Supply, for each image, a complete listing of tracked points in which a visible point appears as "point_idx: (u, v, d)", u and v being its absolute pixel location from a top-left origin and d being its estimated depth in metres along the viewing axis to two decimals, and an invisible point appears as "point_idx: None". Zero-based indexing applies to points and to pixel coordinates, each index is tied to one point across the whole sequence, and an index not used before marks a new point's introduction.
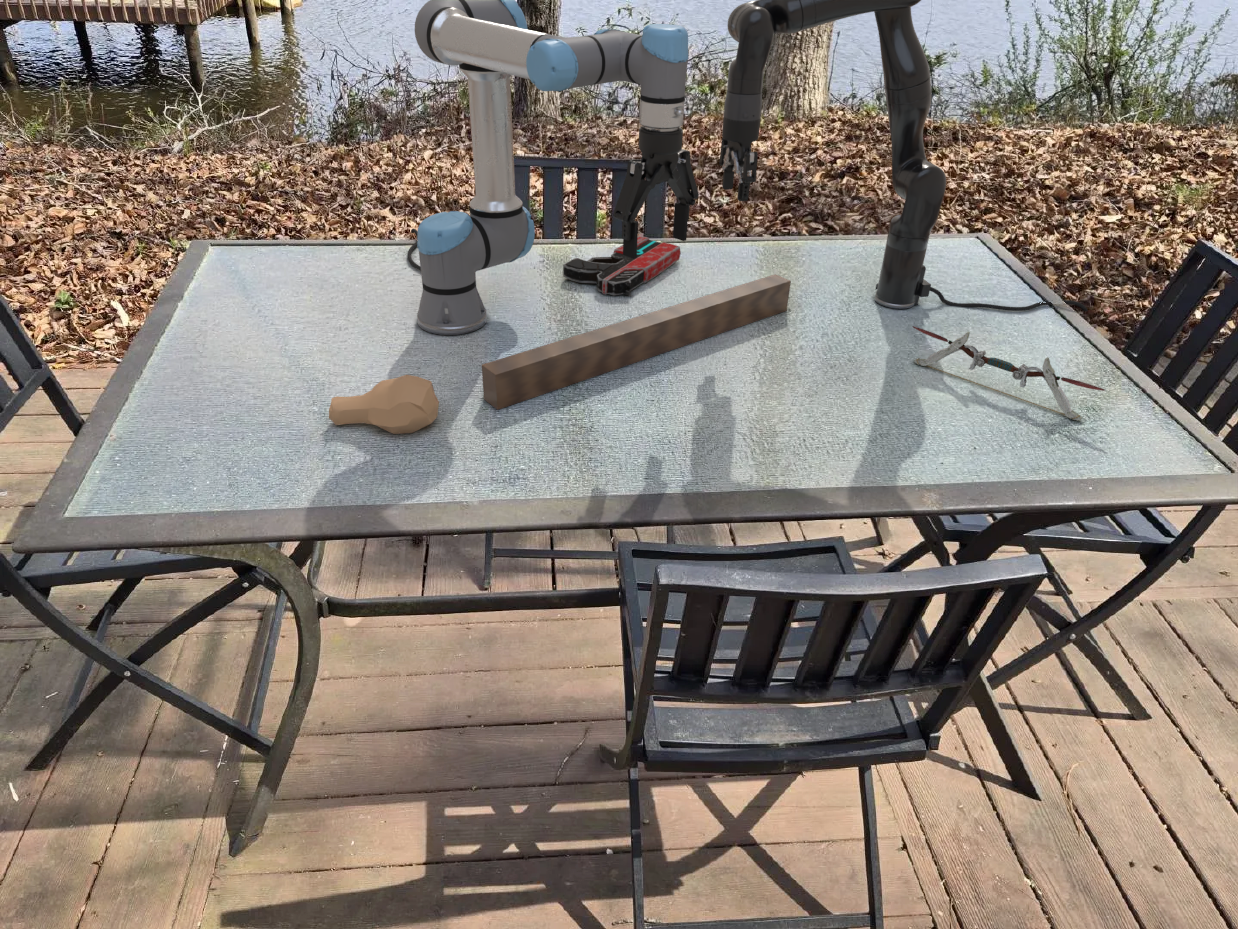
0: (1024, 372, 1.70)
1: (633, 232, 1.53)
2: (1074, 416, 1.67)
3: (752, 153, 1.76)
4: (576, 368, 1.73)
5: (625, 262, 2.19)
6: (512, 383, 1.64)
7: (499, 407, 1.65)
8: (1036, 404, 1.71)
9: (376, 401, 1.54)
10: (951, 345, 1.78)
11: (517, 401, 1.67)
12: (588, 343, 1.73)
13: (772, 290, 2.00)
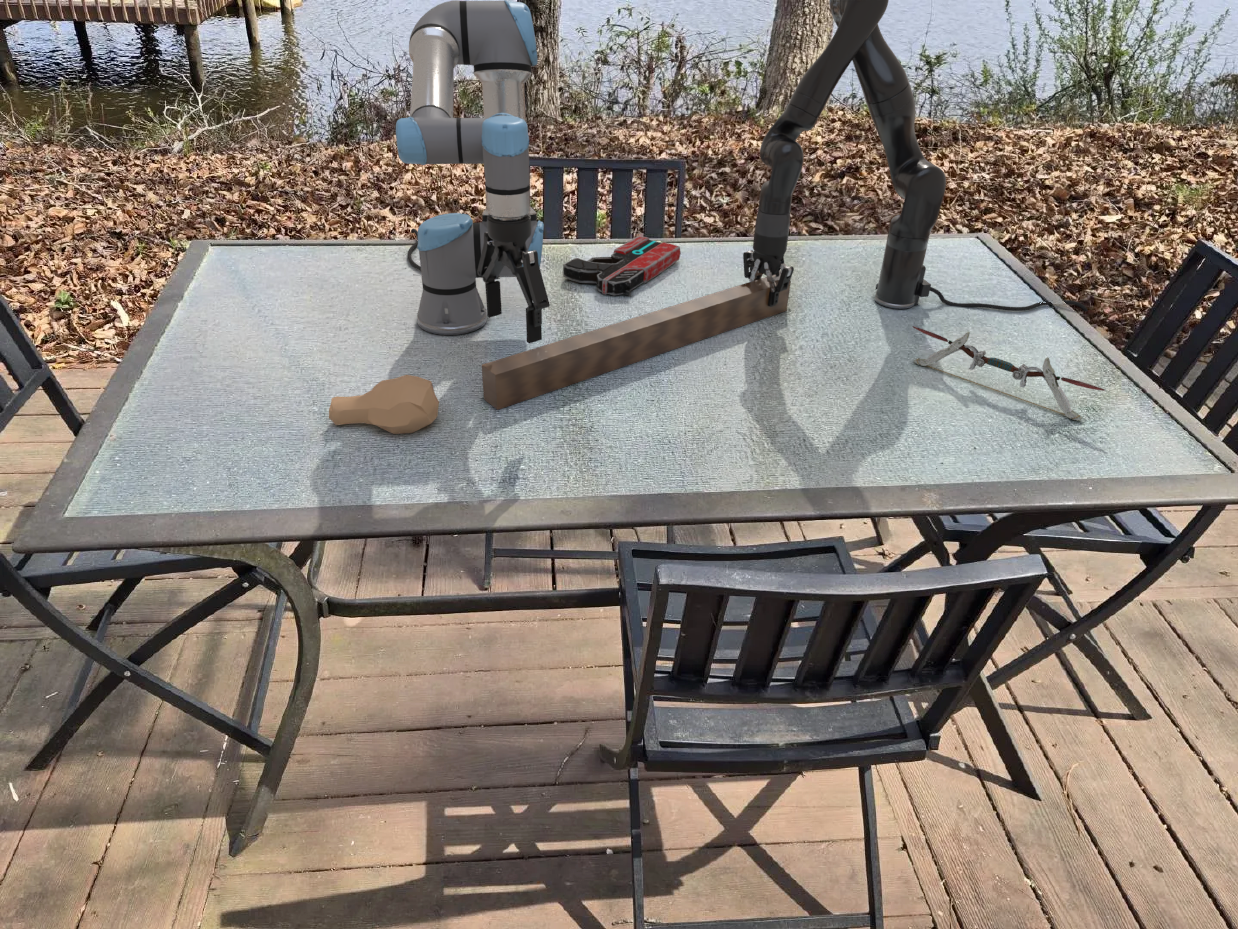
0: (1024, 372, 1.70)
1: None
2: (1074, 416, 1.67)
3: (790, 269, 1.94)
4: (576, 368, 1.73)
5: (625, 262, 2.19)
6: (512, 383, 1.64)
7: (499, 407, 1.65)
8: (1036, 404, 1.71)
9: (376, 401, 1.54)
10: (951, 345, 1.78)
11: (517, 401, 1.67)
12: (588, 343, 1.73)
13: None
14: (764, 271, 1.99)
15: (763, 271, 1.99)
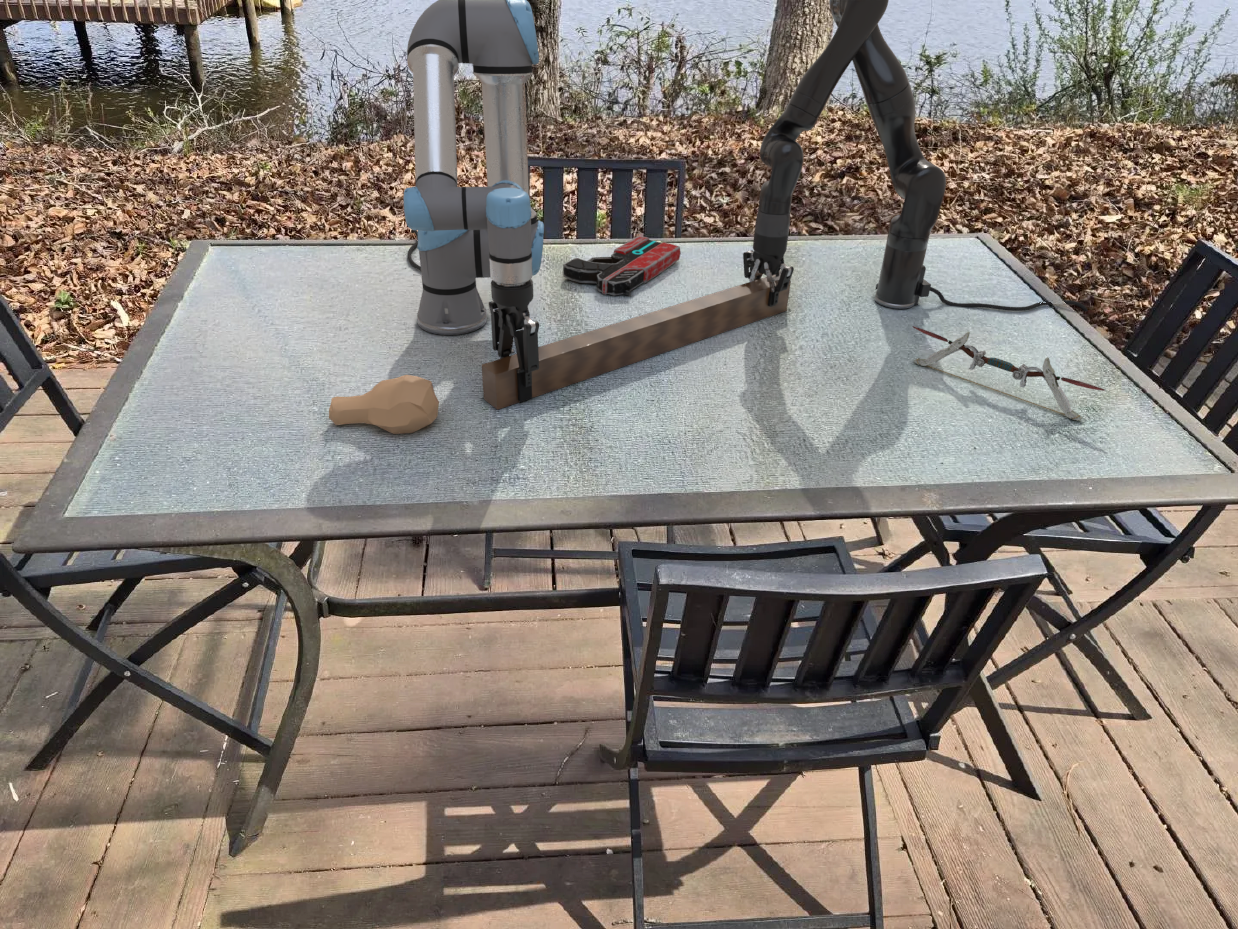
0: (1024, 372, 1.70)
1: None
2: (1074, 416, 1.67)
3: (790, 269, 1.94)
4: (576, 368, 1.73)
5: (625, 262, 2.19)
6: (512, 383, 1.64)
7: (499, 407, 1.65)
8: (1036, 404, 1.71)
9: (376, 401, 1.54)
10: (951, 345, 1.78)
11: (517, 401, 1.67)
12: (588, 342, 1.73)
13: None
14: (764, 271, 1.99)
15: (763, 271, 1.99)
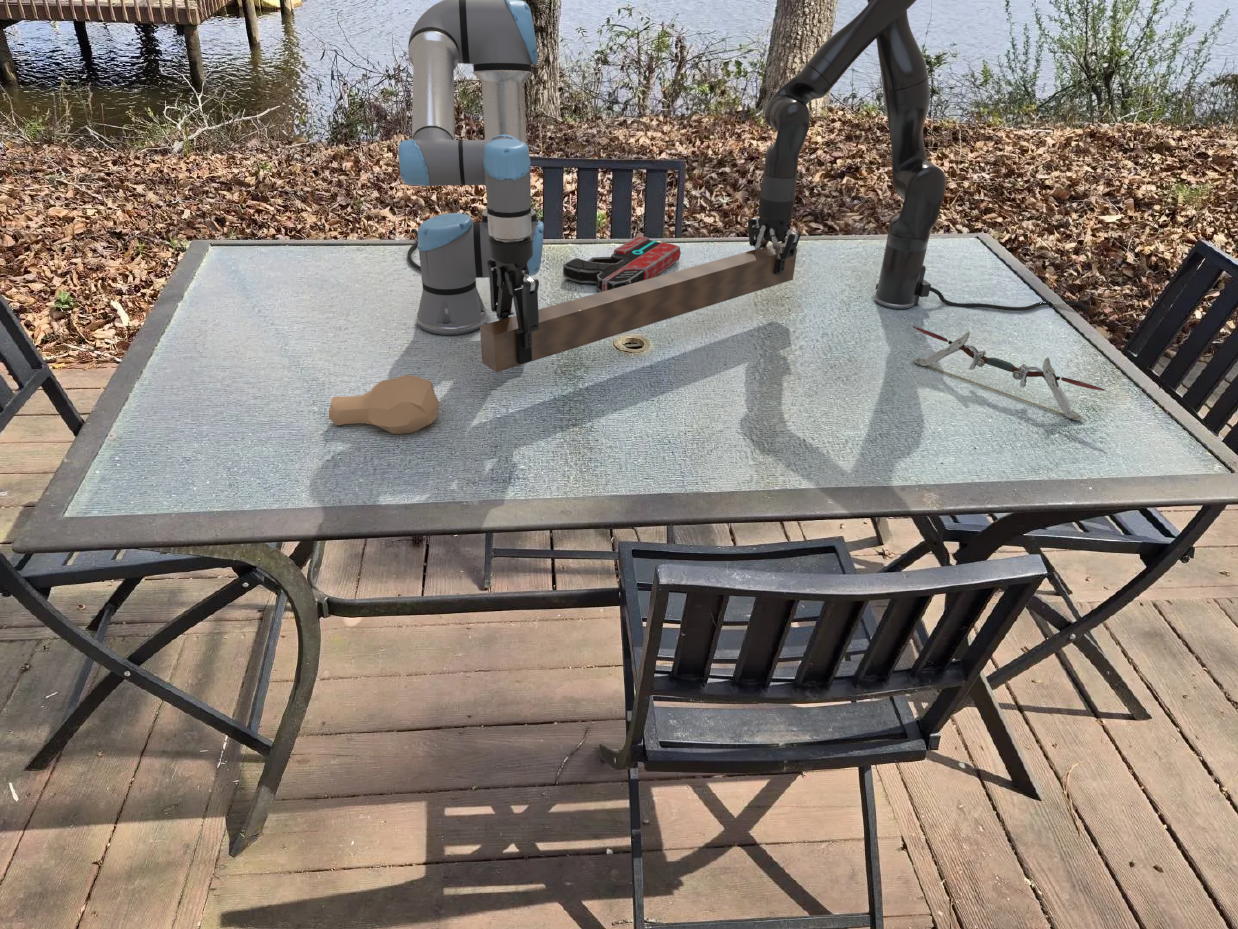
0: (1024, 372, 1.70)
1: None
2: (1074, 416, 1.67)
3: (796, 235, 1.89)
4: (577, 331, 1.68)
5: (625, 262, 2.19)
6: (512, 345, 1.60)
7: (497, 369, 1.60)
8: (1036, 404, 1.71)
9: (376, 401, 1.54)
10: (951, 345, 1.78)
11: (516, 364, 1.62)
12: (590, 305, 1.68)
13: None
14: (770, 238, 1.94)
15: (769, 238, 1.94)
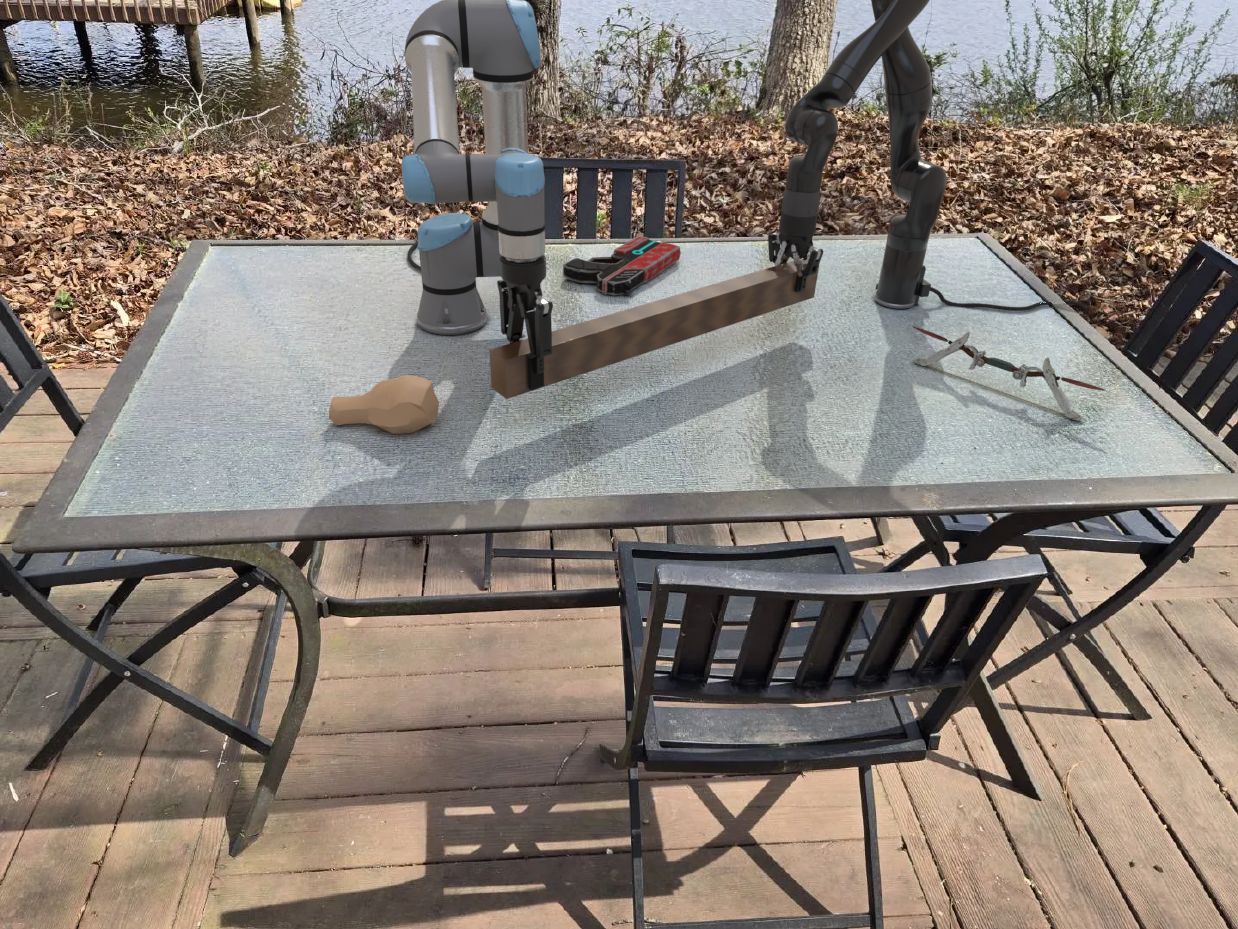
0: (1024, 372, 1.70)
1: None
2: (1074, 416, 1.67)
3: (819, 252, 1.80)
4: (592, 355, 1.59)
5: (625, 262, 2.19)
6: (523, 370, 1.51)
7: (508, 396, 1.51)
8: (1036, 404, 1.71)
9: (376, 401, 1.54)
10: (951, 345, 1.78)
11: (528, 390, 1.53)
12: (605, 327, 1.59)
13: None
14: (791, 254, 1.85)
15: (790, 254, 1.85)
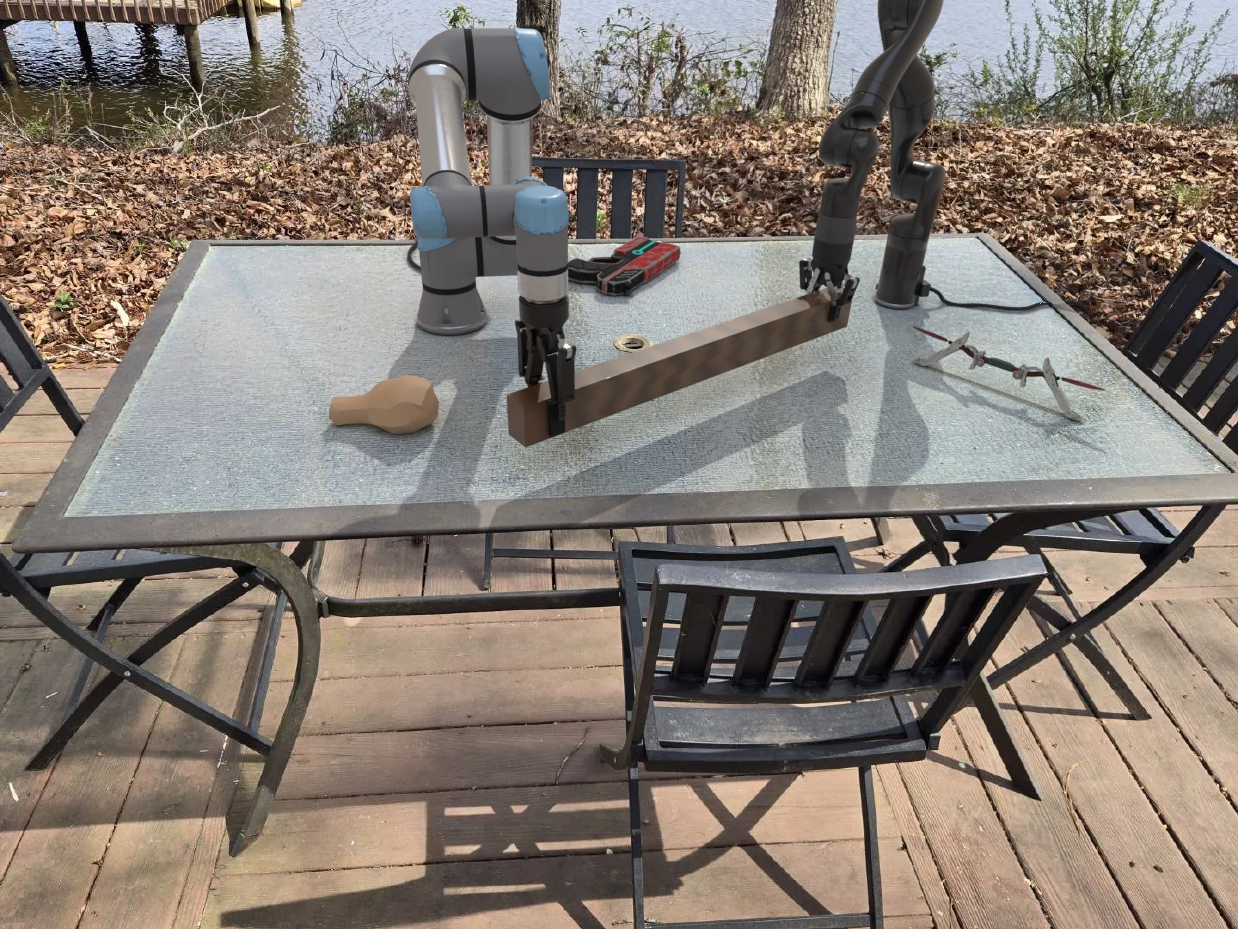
0: (1024, 372, 1.70)
1: None
2: (1074, 416, 1.67)
3: (855, 280, 1.69)
4: (616, 397, 1.48)
5: (625, 262, 2.19)
6: (543, 416, 1.39)
7: (527, 444, 1.40)
8: (1036, 404, 1.71)
9: (376, 401, 1.54)
10: (951, 345, 1.78)
11: (548, 437, 1.42)
12: (630, 367, 1.48)
13: None
14: (824, 282, 1.74)
15: (823, 282, 1.74)
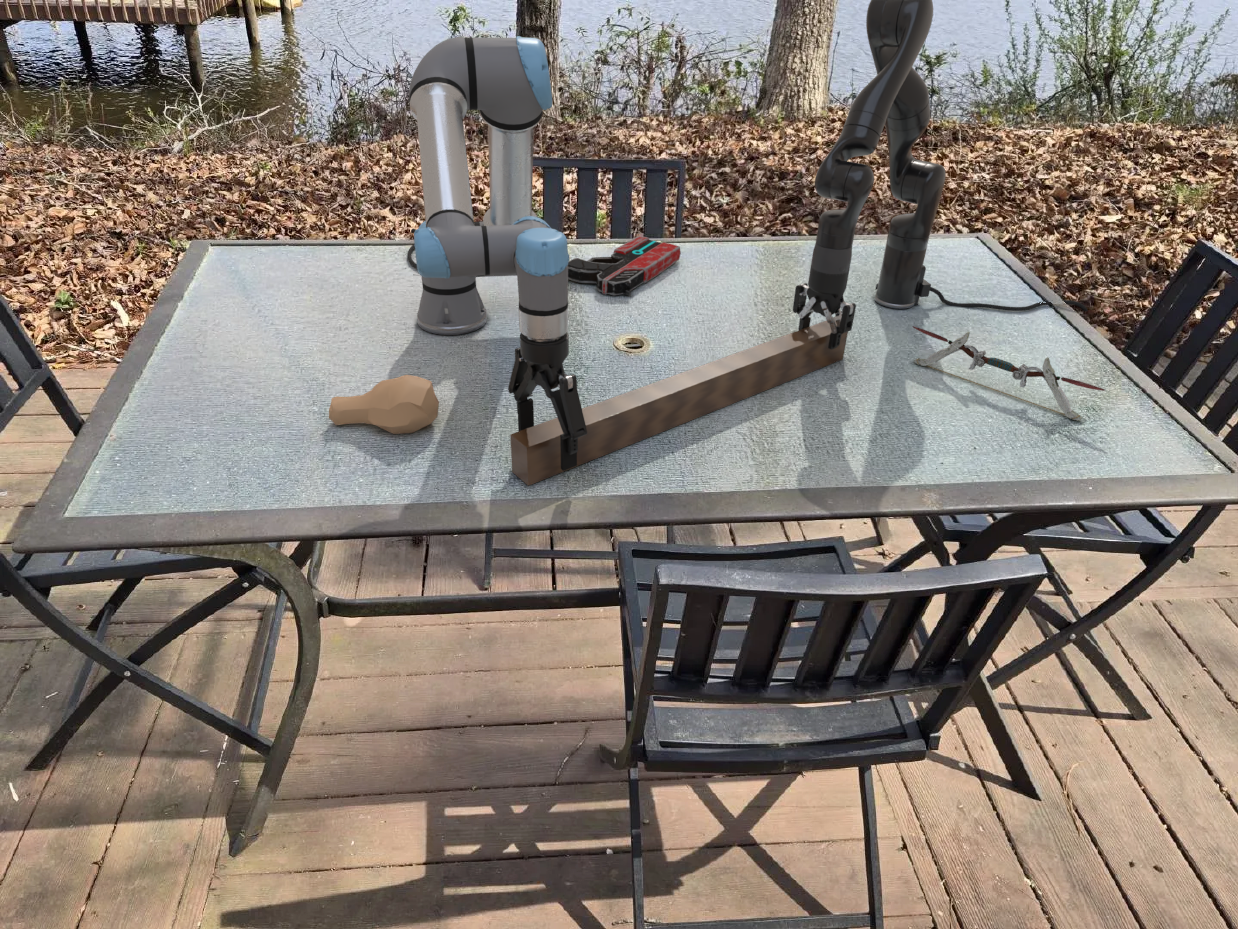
0: (1024, 372, 1.70)
1: None
2: (1074, 416, 1.67)
3: (851, 306, 1.72)
4: (616, 435, 1.52)
5: (625, 262, 2.19)
6: (545, 455, 1.44)
7: (530, 482, 1.44)
8: (1036, 404, 1.71)
9: (376, 401, 1.54)
10: (951, 345, 1.78)
11: (550, 475, 1.47)
12: (630, 406, 1.52)
13: (829, 338, 1.80)
14: (820, 310, 1.77)
15: (819, 310, 1.77)
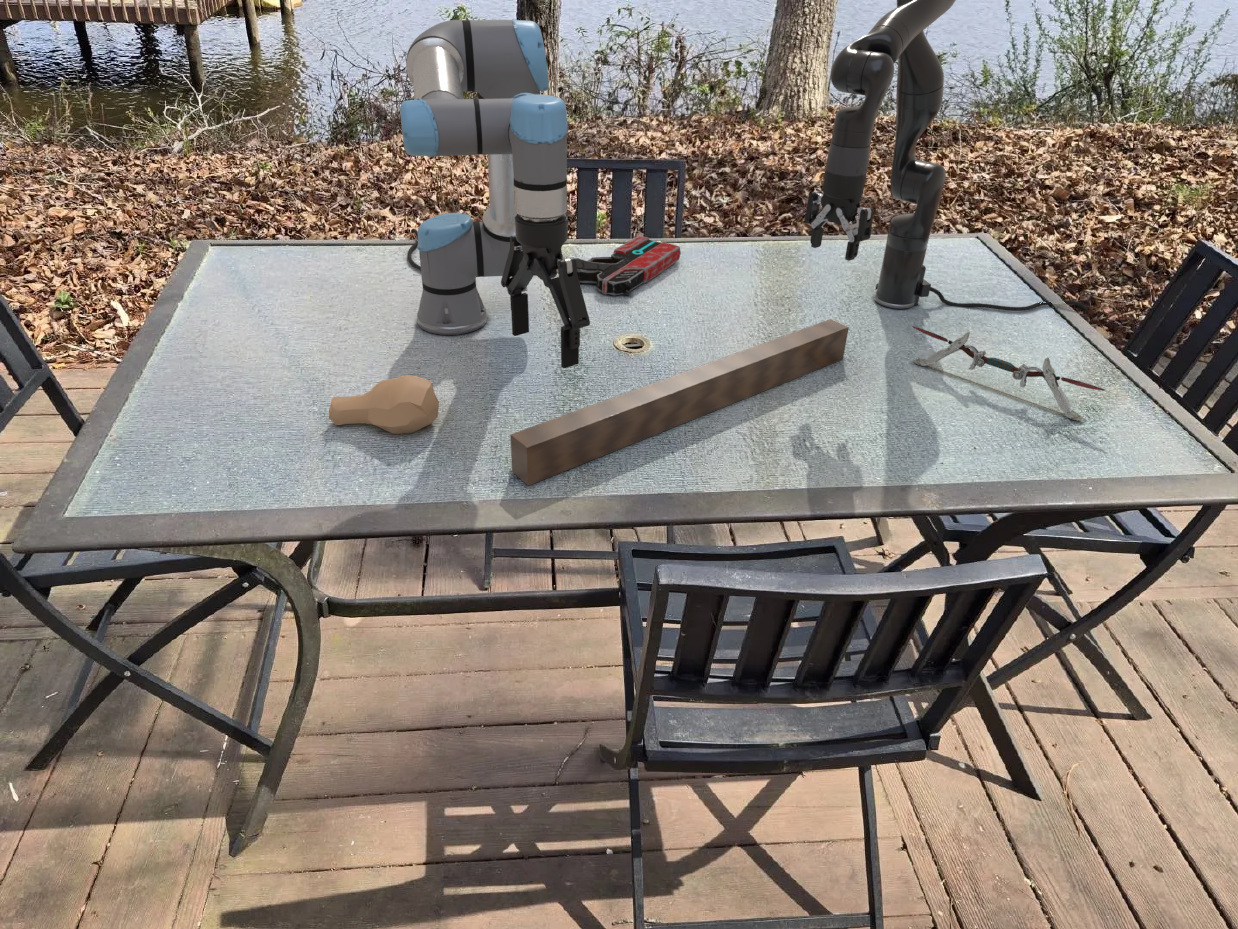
0: (1024, 372, 1.70)
1: None
2: (1074, 416, 1.67)
3: (869, 209, 1.61)
4: (616, 435, 1.52)
5: (625, 262, 2.19)
6: (545, 455, 1.44)
7: (530, 482, 1.44)
8: (1036, 404, 1.71)
9: (376, 401, 1.54)
10: (951, 345, 1.78)
11: (550, 475, 1.47)
12: (630, 406, 1.52)
13: (829, 338, 1.80)
14: (835, 219, 1.67)
15: (834, 219, 1.67)
